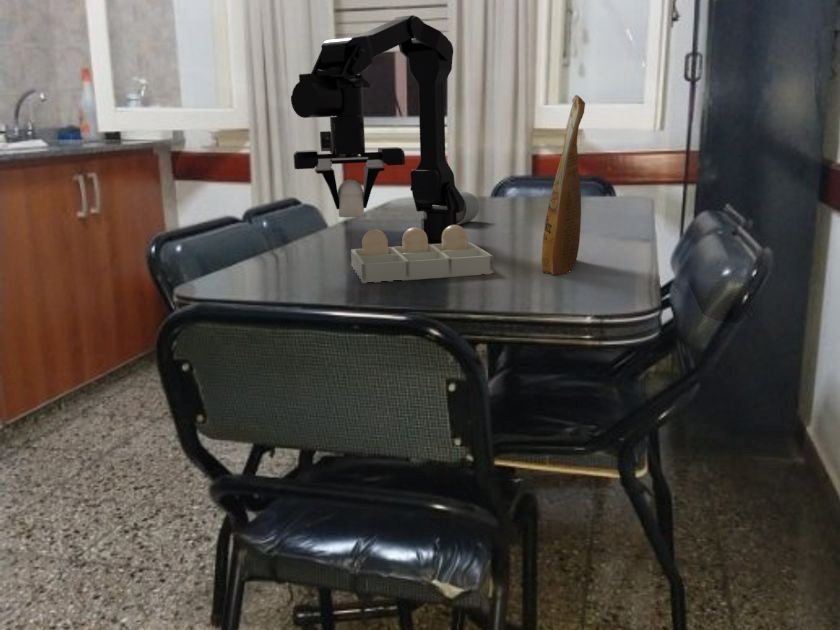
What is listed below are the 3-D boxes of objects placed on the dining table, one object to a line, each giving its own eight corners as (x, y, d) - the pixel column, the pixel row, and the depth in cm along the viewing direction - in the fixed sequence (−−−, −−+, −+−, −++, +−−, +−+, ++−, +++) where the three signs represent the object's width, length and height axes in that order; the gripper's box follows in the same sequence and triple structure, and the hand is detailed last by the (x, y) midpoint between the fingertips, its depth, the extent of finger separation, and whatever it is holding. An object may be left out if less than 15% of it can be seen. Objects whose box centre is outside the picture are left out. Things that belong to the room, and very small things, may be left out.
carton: (469, 258, 142) (469, 220, 140) (493, 273, 128) (493, 232, 126) (351, 266, 138) (349, 227, 136) (362, 283, 124) (360, 240, 122)
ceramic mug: (481, 221, 187) (480, 189, 185) (467, 226, 180) (466, 192, 178) (441, 220, 192) (440, 189, 190) (426, 225, 185) (425, 192, 183)
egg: (362, 213, 140) (360, 178, 138) (365, 216, 135) (363, 180, 134) (337, 214, 139) (336, 179, 137) (340, 217, 135) (338, 181, 133)
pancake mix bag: (588, 256, 141) (592, 94, 134) (579, 278, 123) (583, 93, 116) (550, 255, 143) (552, 96, 136) (536, 277, 125) (538, 95, 118)
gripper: (393, 114, 142) (396, 200, 146) (289, 117, 139) (295, 205, 143) (403, 114, 131) (406, 207, 135) (291, 118, 128) (298, 213, 132)
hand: (351, 208), depth 137 cm, fingers closed on egg, 4 cm apart
